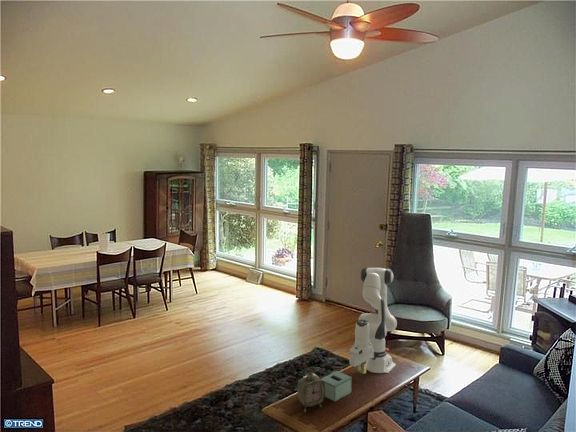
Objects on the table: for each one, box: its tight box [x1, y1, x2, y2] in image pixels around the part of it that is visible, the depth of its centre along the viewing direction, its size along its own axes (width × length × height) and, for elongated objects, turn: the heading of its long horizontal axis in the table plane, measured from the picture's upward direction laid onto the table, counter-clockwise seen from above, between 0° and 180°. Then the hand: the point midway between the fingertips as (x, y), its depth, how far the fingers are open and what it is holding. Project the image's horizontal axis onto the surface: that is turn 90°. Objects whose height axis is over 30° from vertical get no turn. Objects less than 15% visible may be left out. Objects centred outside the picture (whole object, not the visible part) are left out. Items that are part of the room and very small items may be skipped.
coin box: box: [320, 370, 353, 403], centre depth 281 cm, size 16×12×10 cm
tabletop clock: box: [296, 366, 326, 413], centre depth 264 cm, size 14×9×25 cm, turn 119°
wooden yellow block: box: [356, 362, 367, 375], centre depth 278 cm, size 2×5×6 cm, turn 44°
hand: (361, 368), depth 278 cm, fingers closed on wooden yellow block, 2 cm apart
